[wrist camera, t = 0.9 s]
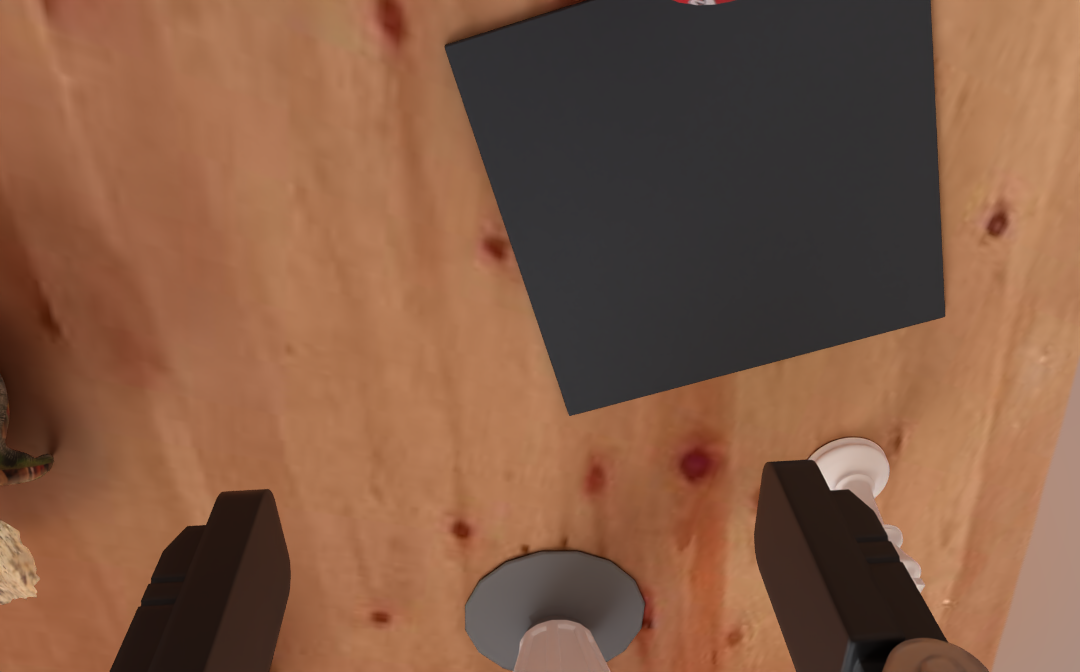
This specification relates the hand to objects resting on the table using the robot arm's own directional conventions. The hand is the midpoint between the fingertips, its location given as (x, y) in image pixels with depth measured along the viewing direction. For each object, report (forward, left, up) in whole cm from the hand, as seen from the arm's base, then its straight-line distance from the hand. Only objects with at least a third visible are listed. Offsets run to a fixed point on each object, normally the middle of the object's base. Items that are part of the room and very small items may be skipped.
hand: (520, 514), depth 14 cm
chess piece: (+27, +12, -27) cm, 40 cm away
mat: (+8, +8, -27) cm, 29 cm away
